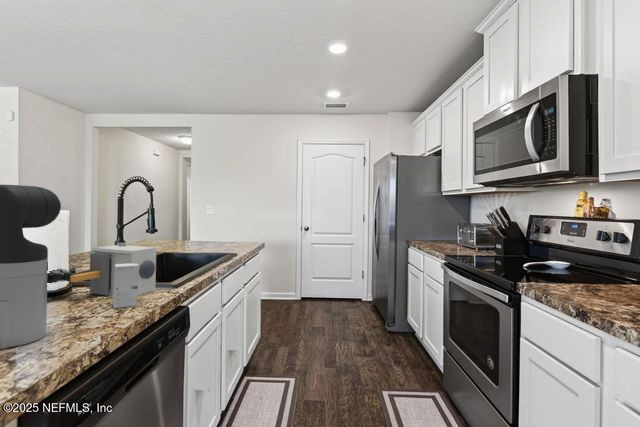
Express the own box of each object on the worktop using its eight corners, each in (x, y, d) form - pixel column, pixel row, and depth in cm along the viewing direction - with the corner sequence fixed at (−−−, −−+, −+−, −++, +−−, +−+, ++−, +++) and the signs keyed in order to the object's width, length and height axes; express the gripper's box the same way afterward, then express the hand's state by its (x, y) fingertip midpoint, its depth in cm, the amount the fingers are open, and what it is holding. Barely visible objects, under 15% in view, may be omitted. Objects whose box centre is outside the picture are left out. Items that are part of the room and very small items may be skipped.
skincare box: (113, 308, 92) (114, 266, 92) (112, 304, 95) (113, 263, 95) (137, 305, 95) (138, 264, 95) (136, 301, 99) (137, 262, 99)
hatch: (80, 301, 96) (81, 258, 95) (63, 299, 98) (64, 256, 97) (108, 294, 104) (109, 254, 104) (92, 292, 106) (93, 252, 106)
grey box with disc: (130, 298, 102) (131, 248, 102) (91, 293, 107) (92, 244, 107) (157, 290, 112) (158, 244, 112) (119, 286, 117) (120, 242, 117)
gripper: (58, 280, 110) (96, 285, 105) (11, 289, 97) (52, 295, 92) (58, 258, 110) (97, 262, 105) (11, 264, 97) (52, 269, 92)
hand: (75, 277), depth 98 cm, fingers closed
